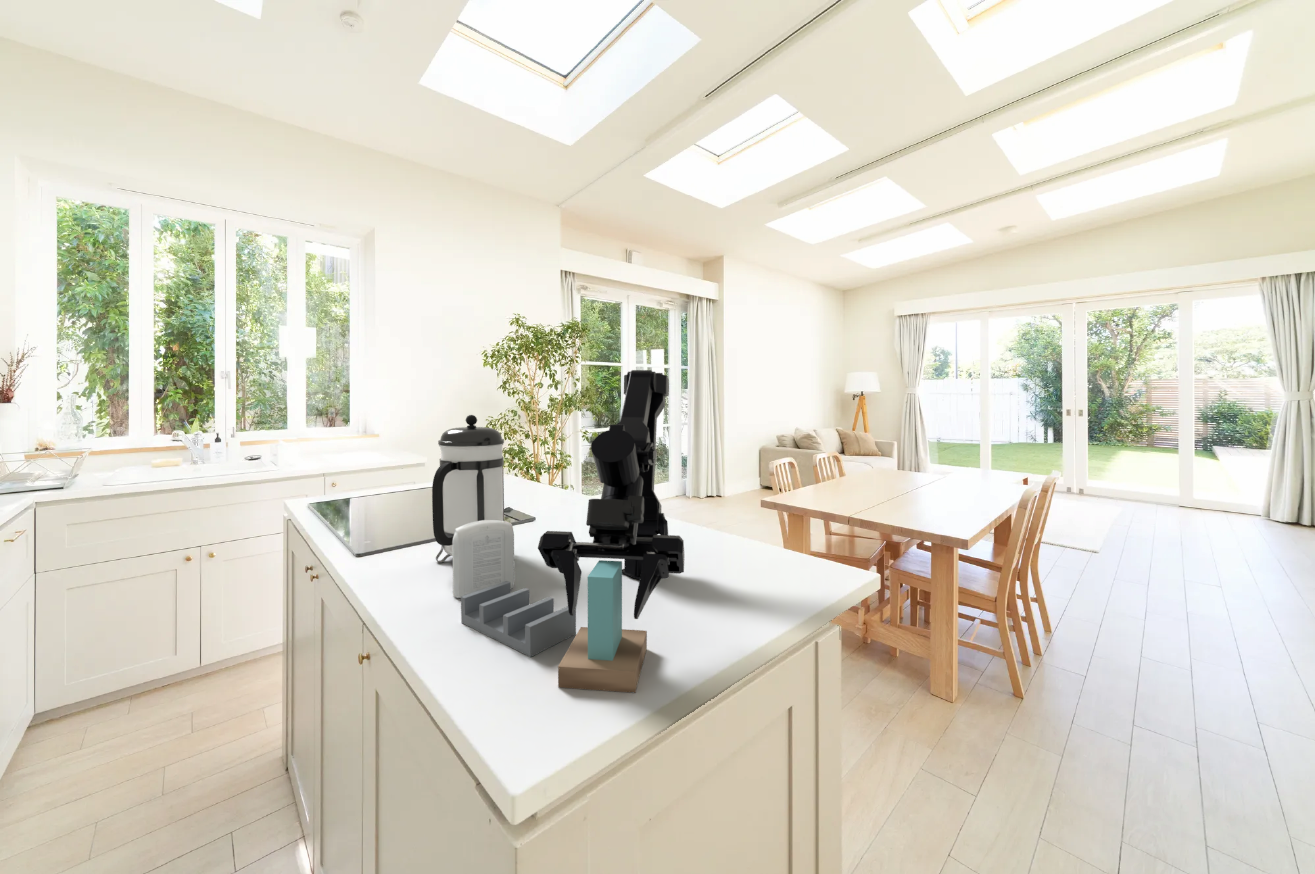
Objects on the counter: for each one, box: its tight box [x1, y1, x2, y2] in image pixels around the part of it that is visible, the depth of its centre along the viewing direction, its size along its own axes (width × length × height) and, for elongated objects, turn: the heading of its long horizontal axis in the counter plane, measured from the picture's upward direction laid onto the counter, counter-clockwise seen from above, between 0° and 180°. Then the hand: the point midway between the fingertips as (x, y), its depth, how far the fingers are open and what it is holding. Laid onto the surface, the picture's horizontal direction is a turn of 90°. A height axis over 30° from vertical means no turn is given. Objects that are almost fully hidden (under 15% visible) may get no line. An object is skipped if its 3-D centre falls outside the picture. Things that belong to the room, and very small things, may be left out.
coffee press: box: [431, 414, 505, 564], centre depth 101 cm, size 17×16×30 cm
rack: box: [460, 581, 577, 658], centre depth 71 cm, size 8×16×4 cm, turn 53°
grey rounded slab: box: [452, 520, 515, 599], centre depth 85 cm, size 10×4×12 cm, turn 123°
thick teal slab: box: [587, 559, 623, 661], centre depth 61 cm, size 6×3×10 cm, turn 174°
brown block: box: [557, 626, 648, 694], centre depth 61 cm, size 10×9×2 cm
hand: (603, 616), depth 59 cm, fingers open, 8 cm apart
